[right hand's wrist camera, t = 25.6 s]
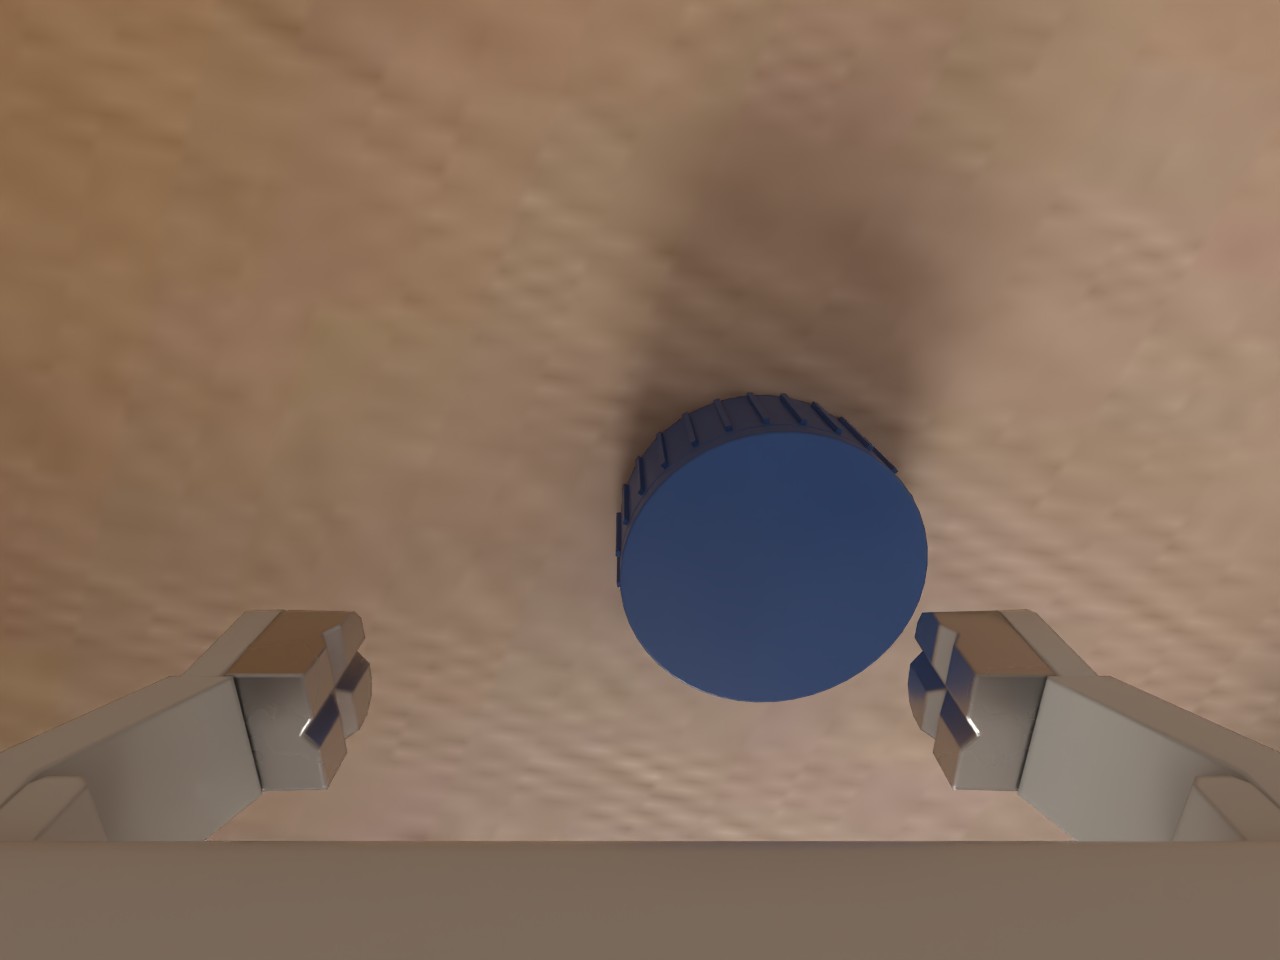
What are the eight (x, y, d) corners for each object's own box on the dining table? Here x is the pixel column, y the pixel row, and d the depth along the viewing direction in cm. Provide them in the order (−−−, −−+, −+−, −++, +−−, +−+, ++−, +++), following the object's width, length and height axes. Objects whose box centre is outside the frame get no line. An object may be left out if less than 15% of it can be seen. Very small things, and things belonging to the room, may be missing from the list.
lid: (710, 677, 16) (723, 752, 14) (561, 492, 14) (550, 544, 12) (932, 551, 15) (984, 610, 13) (801, 332, 13) (837, 359, 11)
